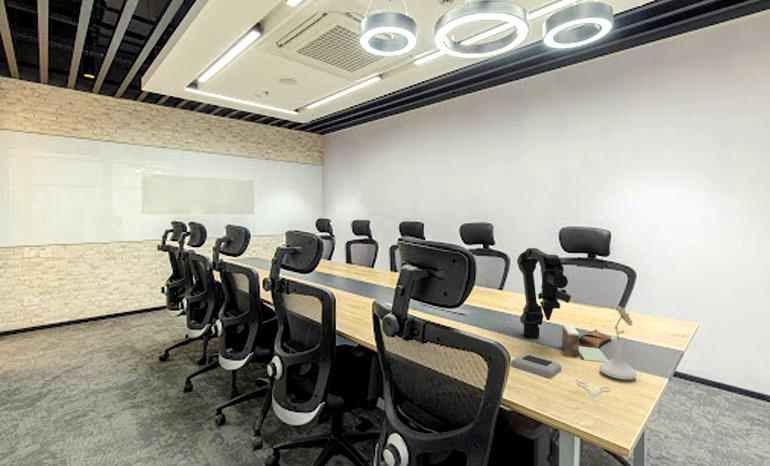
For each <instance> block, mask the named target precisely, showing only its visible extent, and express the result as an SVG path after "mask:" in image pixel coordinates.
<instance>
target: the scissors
mask: <svg viewBox="0 0 770 466" xmlns="http://www.w3.org/2000/svg"><path fill="white" fill-rule="evenodd" d="M575 381H576V385H577V386H579V387H580V388H583V389H584V390H585V391H587V392H588V393H589V395H590V396H589V398H588V399H587V401H586V402H585V404H584V407H586V406H587V405H588V404H589V403H590V402H591V400H593V402H594V404H595V405H596V407H597V409H598V410H601V409H600V406H599V403H598V399H597V396H598V395H599V394H602V393H610V392H611V391H612V389H611V388H610V387H607V386H601V387H600V388H599V390H600V391H596V392H595V391H594V392H593V391H591V390H589V389H588V388H587V387H589V385H588V384H587V383H586V382H583V381H581V380H579V379H577V378H575ZM604 389H608V390H604Z"/></svg>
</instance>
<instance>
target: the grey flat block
mask: <svg viewBox="0 0 770 466" xmlns="http://www.w3.org/2000/svg"><path fill="white" fill-rule="evenodd" d="M511 361H512V362H511ZM511 361H510V367H512V368H515V369H519V370H522V371H526V372H527V373H531V374H534V375H535V374H536V375H538V376H541V377H544V378H548V379H550V378H551V379H553V378H554V377H555V376H557V375H558V374H559V373H561V372H562V366H561V364H559V363H558V362H556V361H553V360H550V359H546V358H542V357H538V356H535V355H531V354H528V353H522V354H520V355H519V356H517V357H516V358H514V359H512V360H511Z"/></svg>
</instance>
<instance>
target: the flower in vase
mask: <svg viewBox="0 0 770 466" xmlns="http://www.w3.org/2000/svg"><path fill="white" fill-rule="evenodd" d="M616 310H617V312H618V314H619V316H620V318H619V319H618V321H617V323H616V325H614V329H615V330H616V335H612V336H610V338H611V340H612V342H613V346H614V355H613V357H612V358H610V359H608V361H606V362H602V363H601V364H600V365H599V368H598V369H599V370H600V371H601V373H603V374H604V375H606V376H608V377H611V378H613V379H614V378H615V379H617V380H633V379H635V378H636V377H637V372H636V371H635V369H634V368H632V366H631V365H629V364H628V363H627V362H626V361H625V360H624V359H623V348H624V344H625V343H626V342H627V341H628V339H627V338H625V337H623V336H619V335H620V334H622V333H625V331H624V330H622V331H619V330H618V325H619V323H620V321H621V320H623V321H624V322H625V323H626V324H627V325H628V326H629V327H630V326H631V327H632V326H634V324H633V320H632V319H631V317H630V315H629V313H627V311H626V310H625V308H624V307H621V306H620V305H619V306H616Z"/></svg>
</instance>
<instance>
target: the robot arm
mask: <svg viewBox="0 0 770 466" xmlns="http://www.w3.org/2000/svg"><path fill="white" fill-rule="evenodd" d="M516 263H517V265H518V269H519V271H520V272H521V273H522V275H523V277H522V278H523V286H524V287H523V288H524V295H525V296H524V297H525V305H524V306H523V309H522V310H523V311H522V314H521V316H520V317H519V319H520V320H519V321H520V323H521V324H523V332H522V335H523V338H528V339H536V340H537V339H539V337H540V327H539V326H542V324H543V320H544V317H545V319H546V321H550V319H551V317H552V314H553V311H554V310H555V309H559V310H560V309H561V303H560V302H559V301H558V300H560V301H563V302H565V303H567V304H569V303H570V301H571V298H572V295H571V294H569V293H567V290H566V289H564V288H566V287H567V285H568V284H569V280H568V277H567V276H566V275H564V271H565V270H564V268H565V267H564V266H563V263H562V260H561V258H560V256H559V255H557V254H548V253H546V252H544V251H542V250H541V249H539V248H536V247H531V248H530V247H528V248H526V249H525V251H523V252H522V253H520V254H519V255H518V257H517V260H516ZM537 264H539V266H540V267H541V269H540V272H541V285H540V288H541V292H539V293H538V296H537V293H536V286H535V277H534V272H535V270H536V268H537ZM537 297H538V300H540V304H539V303H538V302H537V301H538V300H537Z"/></svg>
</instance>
